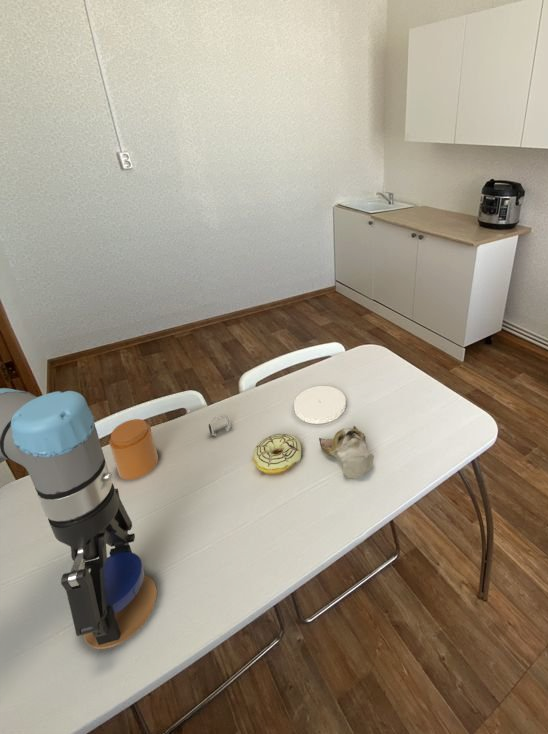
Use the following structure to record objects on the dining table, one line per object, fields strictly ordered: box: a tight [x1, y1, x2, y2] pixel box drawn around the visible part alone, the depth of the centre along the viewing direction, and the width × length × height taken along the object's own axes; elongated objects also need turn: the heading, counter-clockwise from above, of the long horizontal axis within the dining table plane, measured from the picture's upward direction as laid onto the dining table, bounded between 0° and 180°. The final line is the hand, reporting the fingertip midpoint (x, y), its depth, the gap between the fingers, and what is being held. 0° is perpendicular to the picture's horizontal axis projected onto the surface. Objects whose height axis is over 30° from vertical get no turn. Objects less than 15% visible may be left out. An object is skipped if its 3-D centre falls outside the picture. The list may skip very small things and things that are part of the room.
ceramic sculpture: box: [318, 425, 375, 479], centre depth 87 cm, size 11×9×15 cm
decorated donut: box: [252, 433, 302, 476], centre depth 88 cm, size 10×11×4 cm
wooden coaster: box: [83, 574, 158, 650], centre depth 60 cm, size 10×10×1 cm
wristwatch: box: [208, 414, 232, 437], centre depth 96 cm, size 3×5×5 cm, turn 127°
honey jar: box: [108, 418, 159, 481], centre depth 85 cm, size 8×8×11 cm
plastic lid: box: [293, 385, 347, 425], centre depth 104 cm, size 14×14×2 cm
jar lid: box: [104, 551, 145, 614], centre depth 58 cm, size 8×8×2 cm
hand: (119, 605), depth 60 cm, fingers closed on jar lid, 8 cm apart
